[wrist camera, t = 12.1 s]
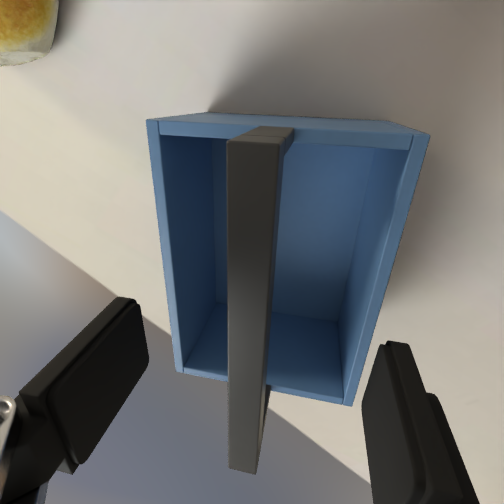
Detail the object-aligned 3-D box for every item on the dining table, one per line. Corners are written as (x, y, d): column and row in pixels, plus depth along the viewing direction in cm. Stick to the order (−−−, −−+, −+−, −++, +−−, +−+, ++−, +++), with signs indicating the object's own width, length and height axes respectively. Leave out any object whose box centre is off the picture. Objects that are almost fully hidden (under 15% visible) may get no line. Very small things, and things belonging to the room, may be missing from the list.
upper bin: (205, 112, 16) (57, 129, 7) (389, 120, 15) (501, 157, 6) (212, 303, 22) (136, 445, 13) (343, 323, 21) (361, 502, 12)
